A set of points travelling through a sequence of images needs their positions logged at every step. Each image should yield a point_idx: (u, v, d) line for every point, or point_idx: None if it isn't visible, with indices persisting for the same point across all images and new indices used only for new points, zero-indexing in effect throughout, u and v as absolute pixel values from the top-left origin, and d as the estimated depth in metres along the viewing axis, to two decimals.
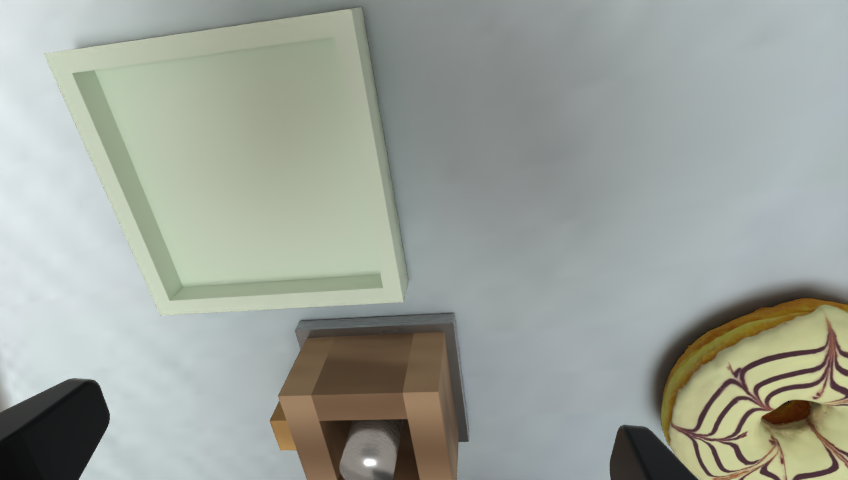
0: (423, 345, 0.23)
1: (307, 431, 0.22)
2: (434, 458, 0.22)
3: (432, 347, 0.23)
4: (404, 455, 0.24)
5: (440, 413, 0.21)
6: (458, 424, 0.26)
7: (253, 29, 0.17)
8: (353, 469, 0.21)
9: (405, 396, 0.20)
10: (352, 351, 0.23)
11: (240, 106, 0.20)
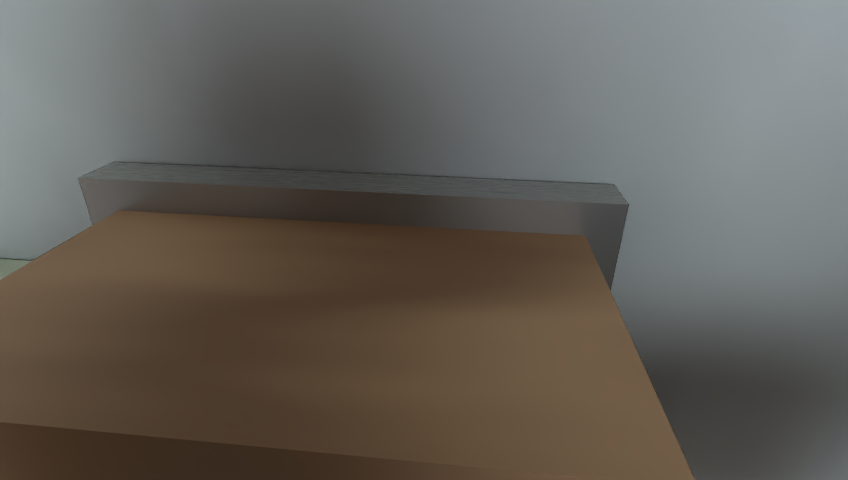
0: None
1: None
2: None
3: None
4: None
5: None
6: (527, 228, 0.07)
7: None
8: None
9: None
10: None
11: None
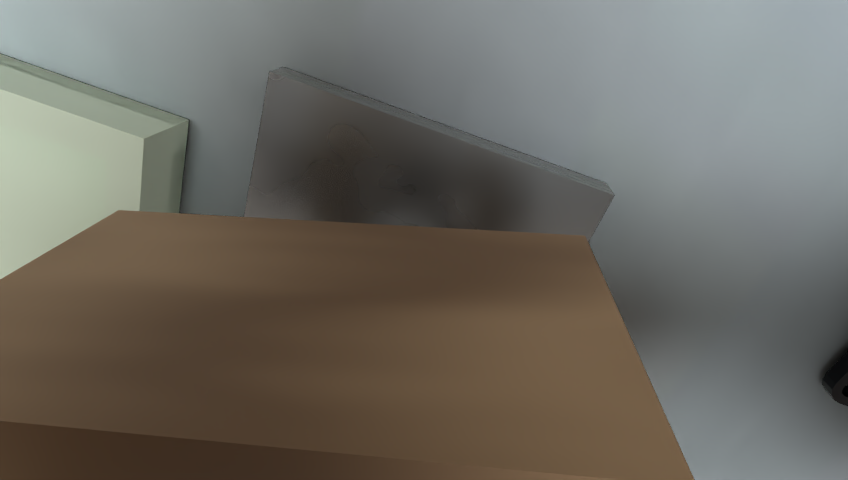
0: None
1: None
2: None
3: None
4: None
5: None
6: (551, 192, 0.11)
7: None
8: None
9: None
10: None
11: None
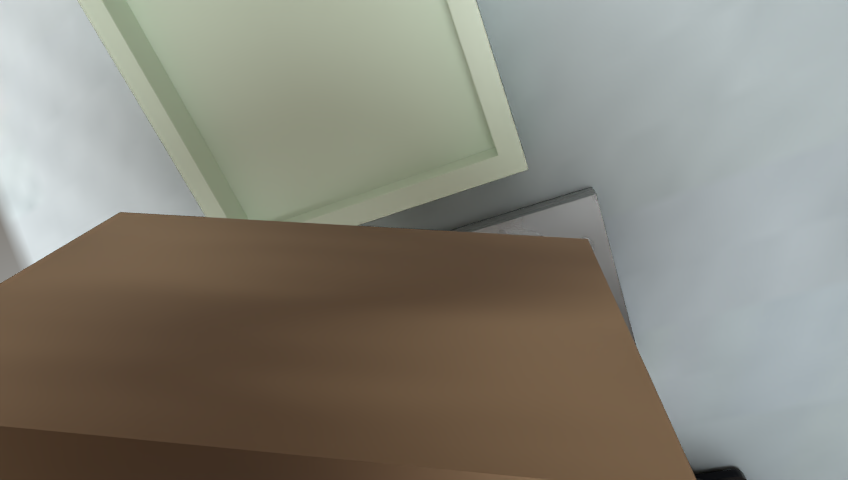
0: None
1: None
2: None
3: None
4: None
5: None
6: None
7: None
8: None
9: None
10: None
11: None
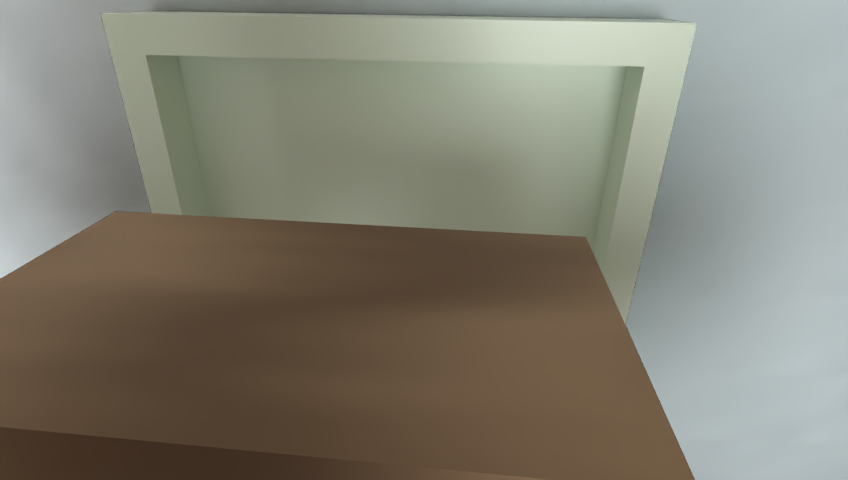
0: None
1: None
2: None
3: None
4: None
5: None
6: None
7: (503, 31, 0.10)
8: None
9: None
10: None
11: (414, 146, 0.12)
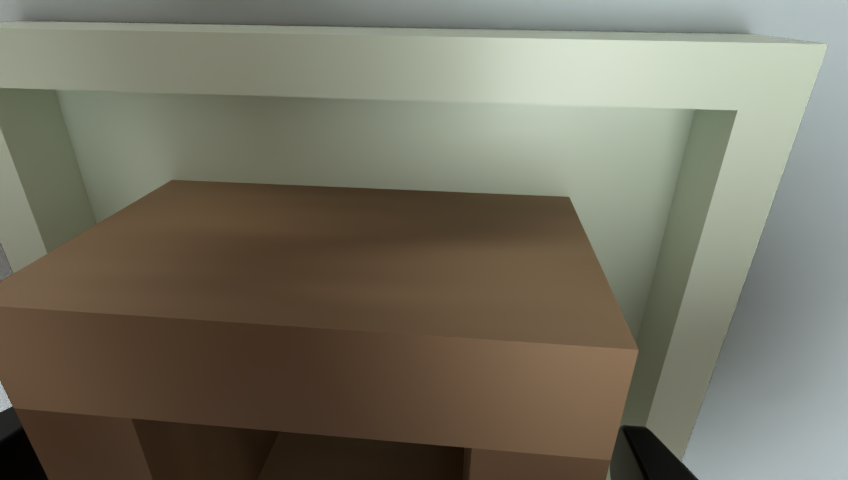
0: None
1: None
2: (328, 377, 0.05)
3: None
4: None
5: (69, 315, 0.05)
6: None
7: (518, 55, 0.06)
8: None
9: (28, 403, 0.06)
10: None
11: None
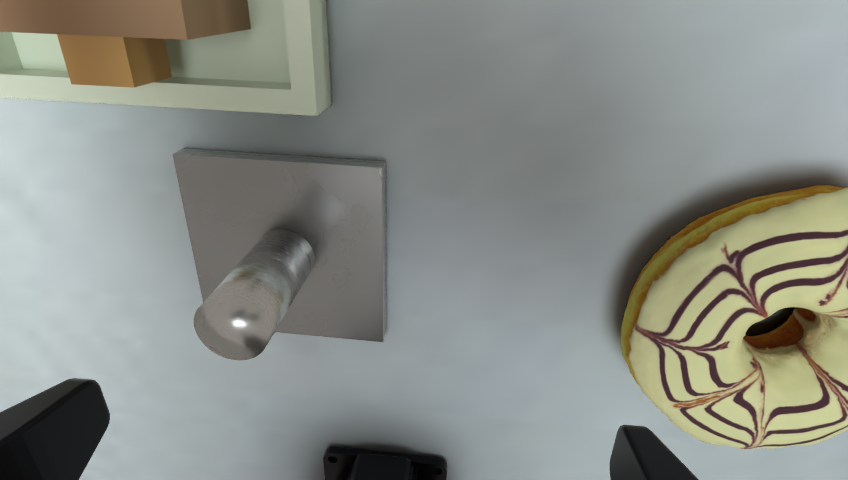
0: None
1: None
2: None
3: None
4: None
5: None
6: (373, 316, 0.21)
7: None
8: (213, 326, 0.16)
9: None
10: None
11: None
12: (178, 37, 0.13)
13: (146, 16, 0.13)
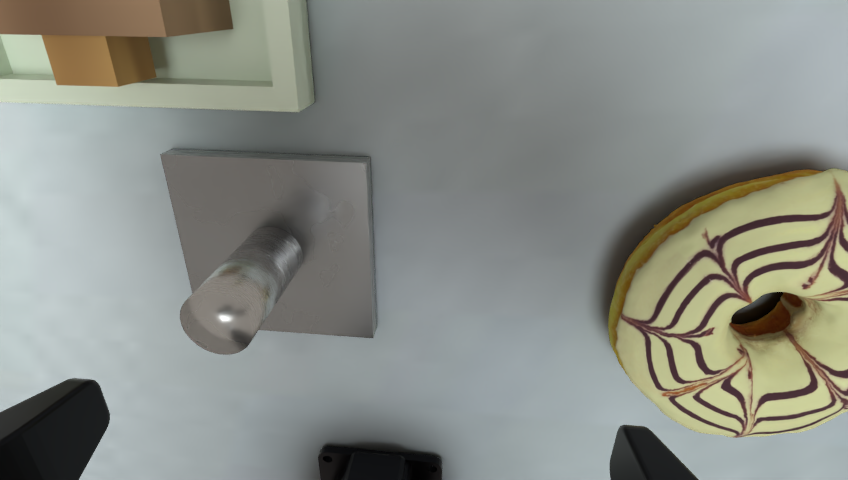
0: None
1: None
2: None
3: None
4: None
5: None
6: (362, 312, 0.21)
7: None
8: (199, 320, 0.16)
9: None
10: None
11: None
12: (157, 35, 0.13)
13: (126, 15, 0.13)
